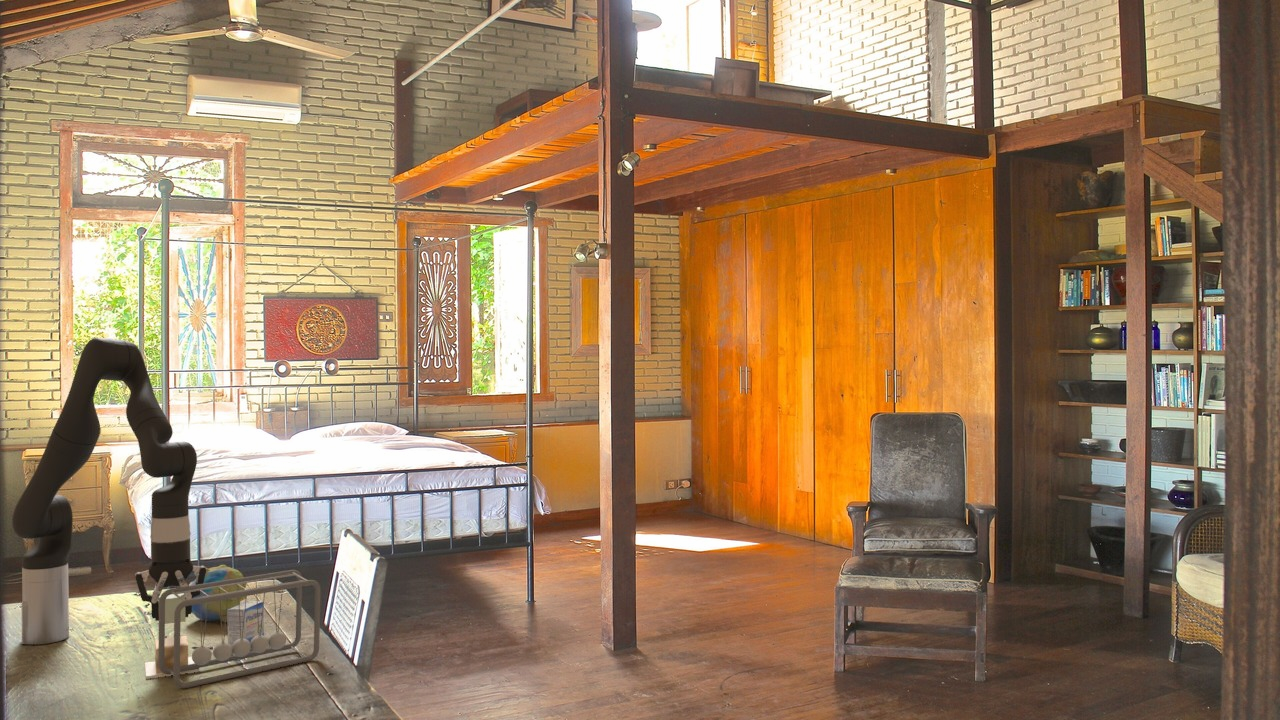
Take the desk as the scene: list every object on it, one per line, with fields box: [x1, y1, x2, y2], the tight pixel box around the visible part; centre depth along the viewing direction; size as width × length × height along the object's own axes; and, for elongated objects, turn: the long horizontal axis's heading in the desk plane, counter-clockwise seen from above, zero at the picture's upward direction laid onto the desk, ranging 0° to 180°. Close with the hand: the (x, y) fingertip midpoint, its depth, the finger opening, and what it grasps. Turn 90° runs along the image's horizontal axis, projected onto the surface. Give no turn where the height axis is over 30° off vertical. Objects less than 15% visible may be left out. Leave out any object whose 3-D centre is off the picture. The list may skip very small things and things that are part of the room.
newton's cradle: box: [158, 569, 322, 689], centre depth 213 cm, size 30×10×18 cm, turn 132°
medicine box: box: [227, 600, 265, 647], centre depth 232 cm, size 8×4×9 cm, turn 168°
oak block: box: [154, 635, 189, 673], centre depth 214 cm, size 6×8×5 cm
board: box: [144, 656, 200, 680], centre depth 214 cm, size 10×10×1 cm
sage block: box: [158, 593, 187, 625], centre depth 213 cm, size 5×5×5 cm
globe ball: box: [188, 564, 248, 624], centre depth 252 cm, size 14×16×15 cm
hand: (171, 617), depth 213 cm, fingers closed on sage block, 5 cm apart
